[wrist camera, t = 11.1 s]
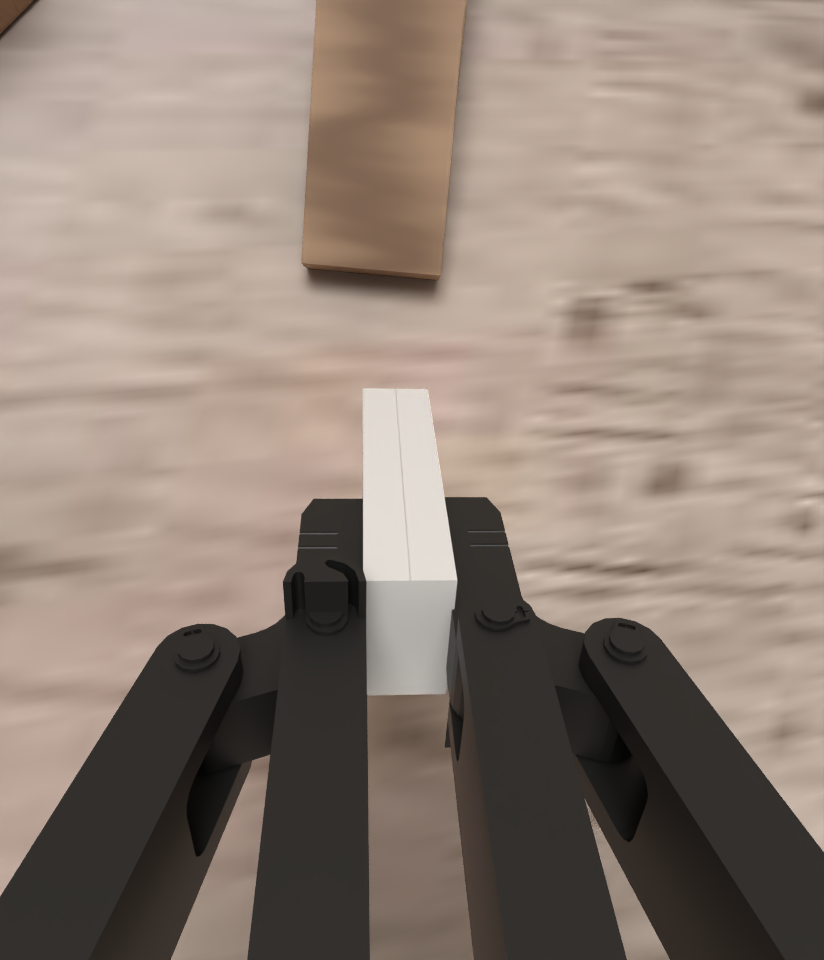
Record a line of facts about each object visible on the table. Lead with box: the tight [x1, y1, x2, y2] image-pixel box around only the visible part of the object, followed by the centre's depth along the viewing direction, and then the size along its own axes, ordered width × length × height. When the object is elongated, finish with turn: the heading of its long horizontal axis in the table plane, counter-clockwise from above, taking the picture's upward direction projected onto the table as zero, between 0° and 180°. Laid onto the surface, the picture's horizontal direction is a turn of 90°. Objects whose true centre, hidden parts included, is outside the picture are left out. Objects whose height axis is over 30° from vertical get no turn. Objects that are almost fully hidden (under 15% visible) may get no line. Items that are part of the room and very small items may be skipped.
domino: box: [302, 0, 465, 280], centre depth 27 cm, size 5×2×10 cm
